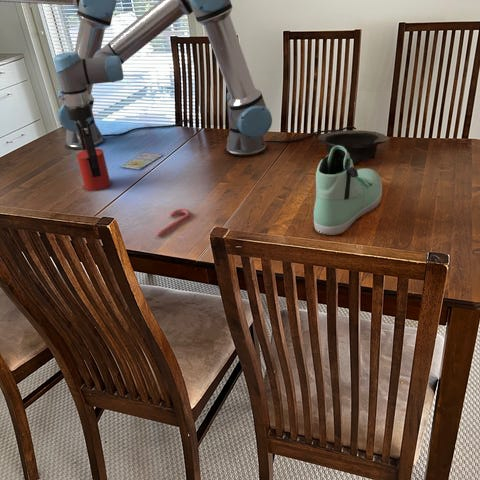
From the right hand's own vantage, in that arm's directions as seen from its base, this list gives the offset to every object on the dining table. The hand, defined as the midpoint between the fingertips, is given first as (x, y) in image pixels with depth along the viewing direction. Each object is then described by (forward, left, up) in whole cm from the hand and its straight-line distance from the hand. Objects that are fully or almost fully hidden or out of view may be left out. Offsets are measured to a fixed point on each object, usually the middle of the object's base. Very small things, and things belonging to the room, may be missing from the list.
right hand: (94, 171), depth 163 cm
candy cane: (-14, +41, -5) cm, 44 cm away
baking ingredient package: (-19, -12, -5) cm, 23 cm away
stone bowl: (-86, +28, -5) cm, 90 cm away
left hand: (+29, -41, +24) cm, 56 cm away
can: (0, 0, -5) cm, 5 cm away
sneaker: (-61, +60, -5) cm, 86 cm away
